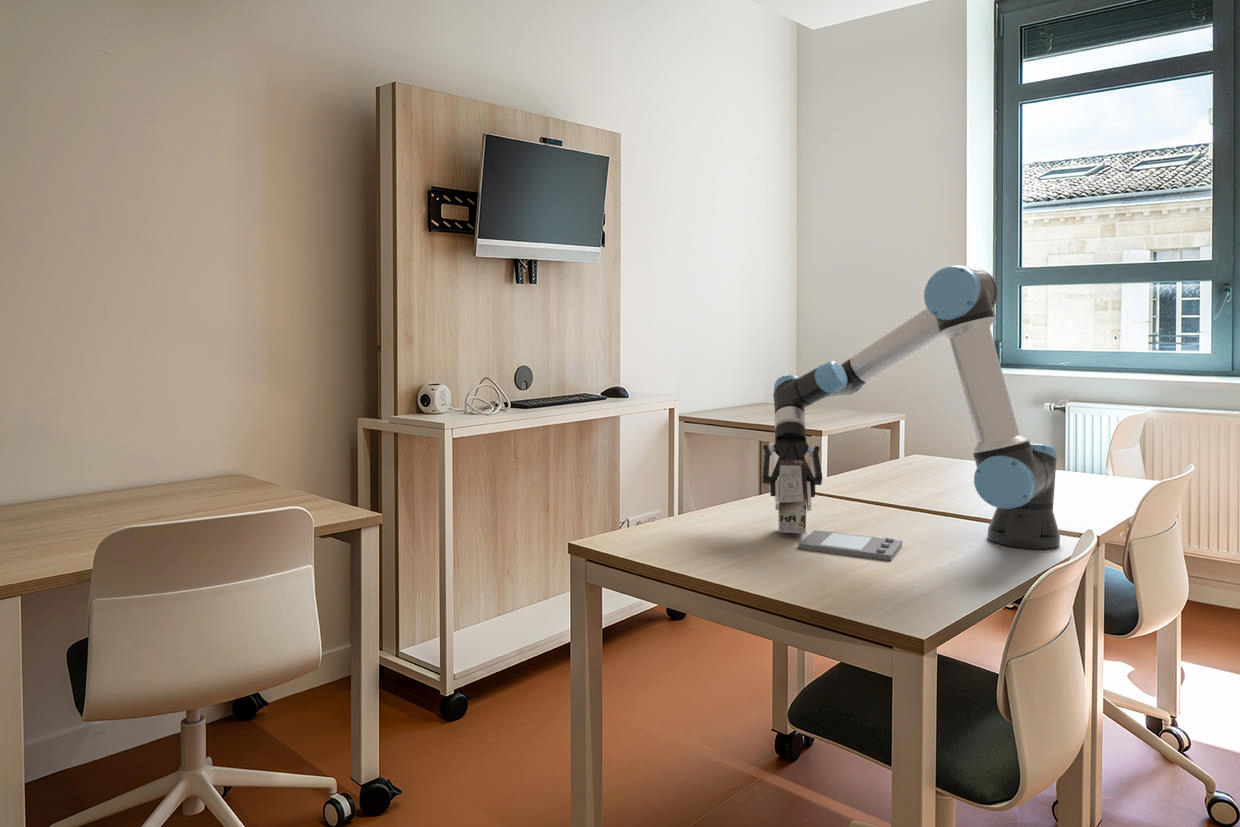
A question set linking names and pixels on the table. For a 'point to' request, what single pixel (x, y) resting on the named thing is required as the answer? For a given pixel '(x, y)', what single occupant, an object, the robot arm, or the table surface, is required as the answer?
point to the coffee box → (792, 496)
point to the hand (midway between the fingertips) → (793, 507)
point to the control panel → (851, 544)
